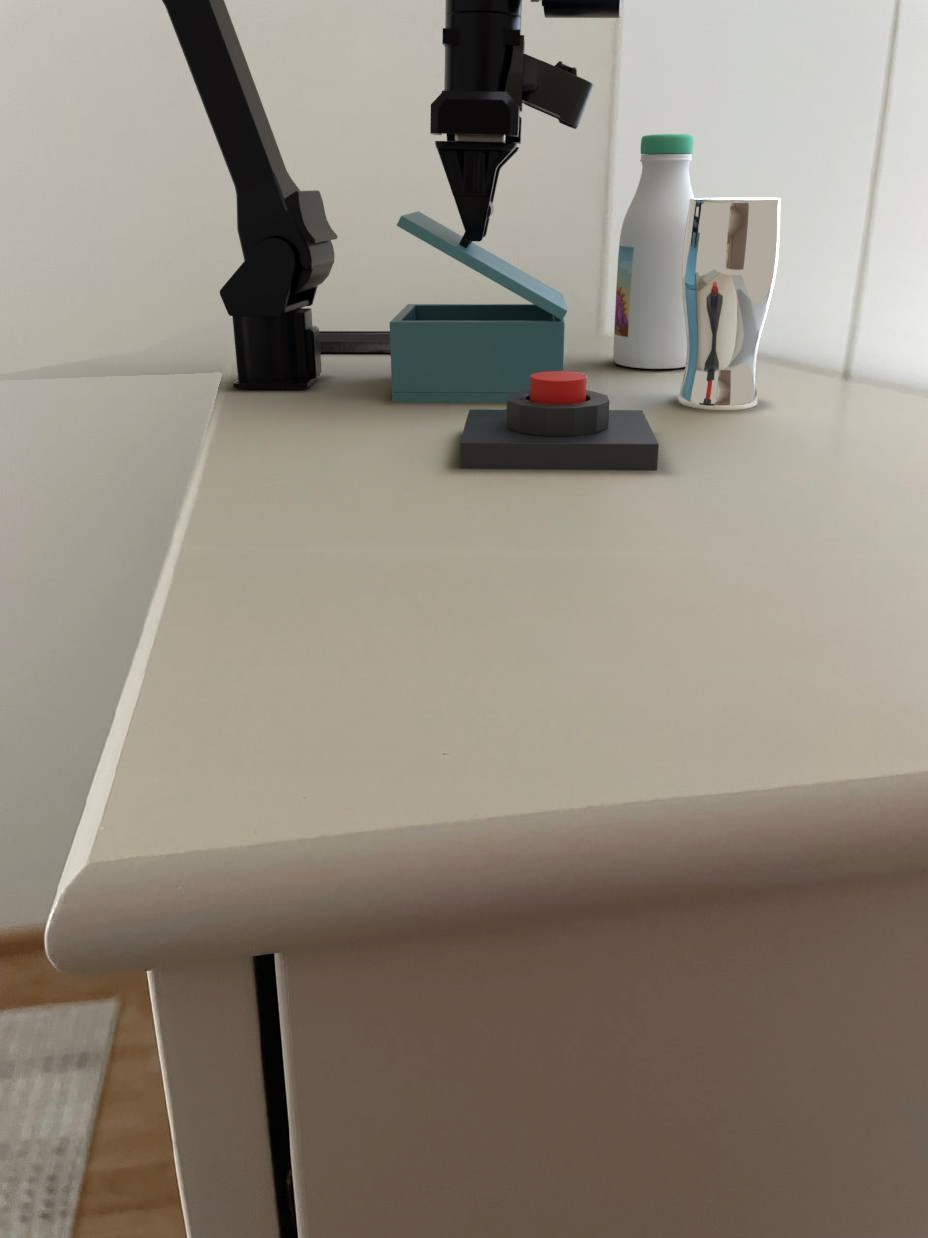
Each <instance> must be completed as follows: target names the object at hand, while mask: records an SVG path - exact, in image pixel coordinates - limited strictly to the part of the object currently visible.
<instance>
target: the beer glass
mask: <svg viewBox="0 0 928 1238" xmlns="http://www.w3.org/2000/svg"><path fill="white" fill-rule="evenodd" d="M694 198H695V197H694ZM781 202H782V198H780V197H698V198H697V197H696V198H695V199H690V200H689V210H688V217H687V223H686V230H685V237H684V246H683V256H682V295H683V306H684V317H685V326H686V339H687V358H686V367H684V373H683V377H682V380H681V385H680V389H679V392H678V398H677V401H678V403H679V404H680V405H682V406H684V407H687V408H693V409H699V410H706V411H740V410H748V409H751V408H755V407H756V406H757V405H758V388H757V387H758V386H757V372H756V371H757V370H756V368H757V356H758V350H759V344H760V341H761V340H760V339H761V336H762V332H763V329H764V326H765V321H766V318H767V314H768V310H769V306H770V302H771V299H772V295H773V290H774V287H775V283H776V282H775V281H776V276H777V269H778V262H779V251H780V250H779V249H780V234H781V233H780V231H781Z"/></svg>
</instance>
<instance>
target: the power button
mask: <svg viewBox="0 0 928 1238" xmlns="http://www.w3.org/2000/svg"><path fill="white" fill-rule="evenodd" d="M587 377H588V376H587V375H586V374H585V373H581V372H576V371H567V370H563V371H548V372H539V373H534V374H532V375H531V376H530V401H532V402H537V403H546V404H572V403H581V402H586V390H587V382H588V380H587V379H588V378H587Z"/></svg>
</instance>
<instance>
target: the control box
mask: <svg viewBox="0 0 928 1238" xmlns="http://www.w3.org/2000/svg"><path fill="white" fill-rule="evenodd" d="M610 402H611V401H610V398H609V395H607V394H604V393H600V392H597V391H594V390H588V389H586V402H581V403H572V404H546V403H537V402H532V401H530V390H522V391H519V392H516V393H513V394H509V395H508V396H507V402H506V409H487V408H486V409H485V408H484V409H481V408H480V409H479V408H478V409H477V408H476V409H474V408H473V409H472V408H471V409H469V410H468V412H467V416H466V419H465V420H466V421H465V423H464V427H463V431H462V434H461V438H460V442H459V469H461V470H550V471H551V470H559V471H562V470H563V471H564V470H566V471H568V470H569V471H570V470H571V471H572V470H573V471H658V461H659V447H660V445H659V441H658V440H657V438H656V435H655V434H654V431H653V430H652V427H651V426H650V425H651V424H650V423H649V421H648V420H647V417H646V414H645V413H644V411H643V410H642V409H610Z"/></svg>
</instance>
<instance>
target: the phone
mask: <svg viewBox="0 0 928 1238" xmlns="http://www.w3.org/2000/svg"><path fill="white" fill-rule="evenodd" d="M319 338H320V353H391V349H390V330H387V331H386V330H385V331H384V330H383V331H382V330H381V331H380V330H379V331H378V330H377V331H376V330H373V331H371V330H367V331H366V330H357V331H356V330H349V331H348V330H345V331H344V330H339V331H338V330H319Z"/></svg>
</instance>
